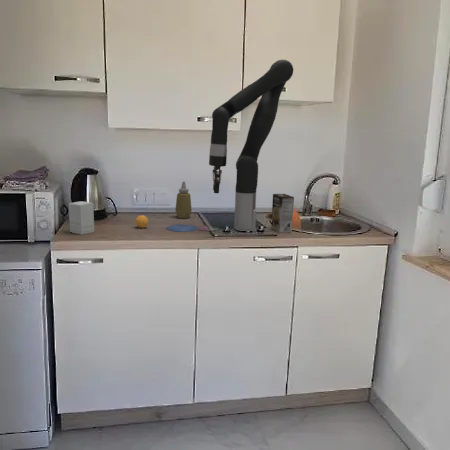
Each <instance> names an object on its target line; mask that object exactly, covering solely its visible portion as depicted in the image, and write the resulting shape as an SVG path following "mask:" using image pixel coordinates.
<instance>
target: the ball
mask: <svg viewBox="0 0 450 450" xmlns="http://www.w3.org/2000/svg"><path fill="white" fill-rule="evenodd" d="M148 224H149V220H148V217H147V216H146V215H144V214H142V215H138V216H136V219H135V225H136V227H138V228H140V229H143V228H146V227H147V226H148Z"/></svg>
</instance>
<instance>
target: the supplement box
mask: <svg viewBox="0 0 450 450" xmlns="http://www.w3.org/2000/svg"><path fill="white" fill-rule="evenodd" d="M94 212H95V211H94V202H90V201H89V202H88V201H82V200H81V201H74V202H70V203H68V215H69V216H68V219H69V233H71V232H72V233H71V234H75V235H76V234H77V235H86V234H90V233H94V232H95V217H94V215H95V213H94Z"/></svg>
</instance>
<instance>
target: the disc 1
mask: <svg viewBox="0 0 450 450" xmlns="http://www.w3.org/2000/svg"><path fill="white" fill-rule="evenodd" d="M198 227H199V226H198ZM198 227H197V226H196V225H192V224H170V225H167V226H166V230H168V231H170V232H177V233H181V232H182V233H187V232H189V233H190V232H194V231H197V230H199V229H198Z"/></svg>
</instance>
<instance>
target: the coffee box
mask: <svg viewBox="0 0 450 450" xmlns="http://www.w3.org/2000/svg"><path fill="white" fill-rule="evenodd" d="M294 202H295V196H293V195H292V196H291V195H289V194H286V193H273V194H272V206H271V207H272V208H271V225H270V226H271V227H270V228H271V229H272V230H274V231H276V232H278V233H292V231H293V221H294V220H293V217H294V208H295V207H294V205H295V204H294Z"/></svg>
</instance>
